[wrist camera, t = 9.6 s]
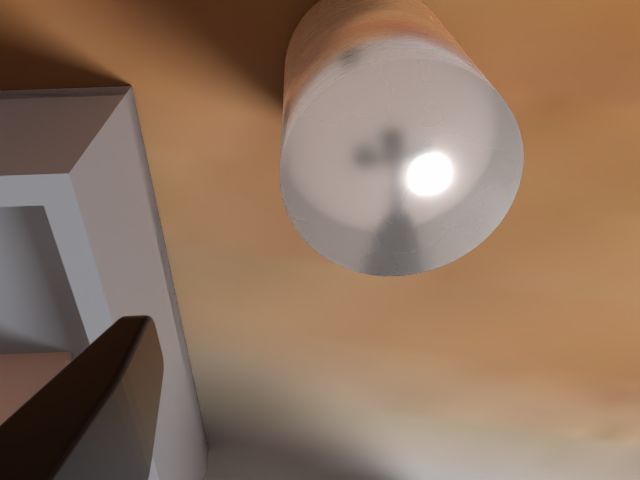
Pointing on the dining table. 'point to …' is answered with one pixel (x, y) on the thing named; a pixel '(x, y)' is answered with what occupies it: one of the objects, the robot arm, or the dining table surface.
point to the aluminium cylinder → (392, 139)
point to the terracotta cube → (26, 377)
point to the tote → (90, 246)
